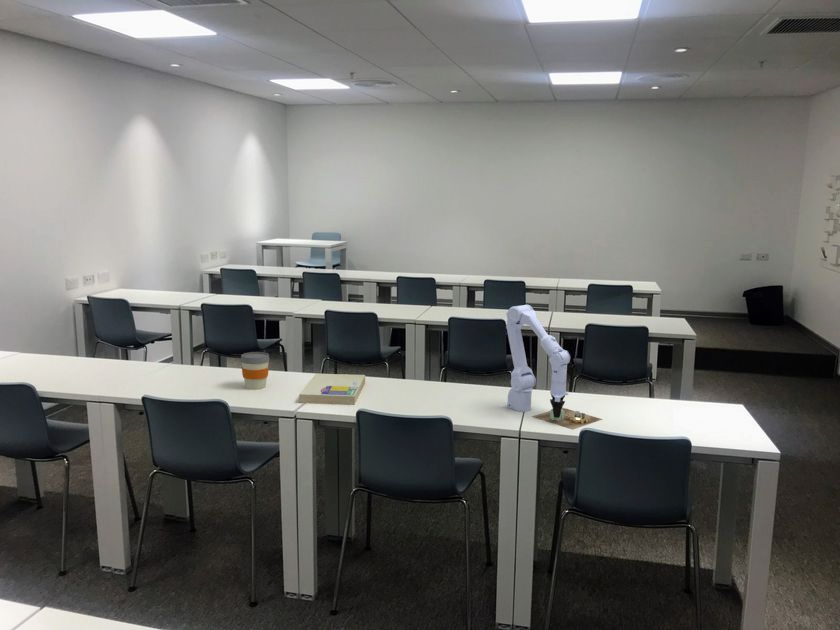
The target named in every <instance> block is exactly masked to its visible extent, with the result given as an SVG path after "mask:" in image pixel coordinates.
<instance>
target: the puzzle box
mask: <svg viewBox="0 0 840 630" xmlns="http://www.w3.org/2000/svg"><path fill="white" fill-rule="evenodd" d="M365 384H366V375H365V374H348V373H347V374H346V373H345V374H341V373H339V374H337V373H335V374H334V373H315V374H314V375H313V377H312V378H311V379H310V380H309V382H308V383H307V384H306V385H305V387H304V388H303V389H302V390H301V391H300V393H299V394H298V395H299V400H298V401H299V404H311V405H313V404H314V405H318V404H319V405H341V406H343V405H347V406H350V405H351V406H355V405H356V403H357V401H358V399H359V397H360V395H361V393H362V391H363V388H364V387H365Z"/></svg>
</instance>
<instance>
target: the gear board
mask: <svg viewBox="0 0 840 630" xmlns="http://www.w3.org/2000/svg"><path fill="white" fill-rule="evenodd" d="M562 410H563V411H565V414H564V419H563V420H560V421H557V420H552V419H550V410H549V411H545V412H542V413H538V414H535V415H532V416H531V417H532V418H533V419H538V420H541V421H544V422H547V423H550V424H553V425H556V426H560V427H562V428H565V429H569V430H576V429H579V428H582V427H585V426H587V425H591V424H593V423H596V422H599V421H603V418H600V417H597V416H593V415H589V414H585V416H589V422H588V423H583V424H580V423H578V424H575V423H570V421H566V415H568V414H572V413H574V414H576V416H579V415H580V414H581V415H582V413H583V412H580V411H579V410H572V409H568V408H565V407H562Z"/></svg>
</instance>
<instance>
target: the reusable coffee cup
mask: <svg viewBox="0 0 840 630" xmlns="http://www.w3.org/2000/svg"><path fill="white" fill-rule="evenodd" d="M240 356H241V357H240V362H241V365H242V366H241V373H242V377H243V379H244V387H245V389H247V390H251V391H252V390H253V391H254V390H255V391H256V390H263V389H265V388H266V386H267V380H268V376H269V369H270V368H269V367H270V366H269V362H270V356H269V353H267V352H263V351H262V352H261V351H250V352H244V353H243V354H241V355H240Z"/></svg>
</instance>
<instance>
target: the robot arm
mask: <svg viewBox="0 0 840 630" xmlns="http://www.w3.org/2000/svg"><path fill="white" fill-rule="evenodd" d="M536 313H537V312H536V310H534V308H533V307H532V306H531V305H529V304H524V305H515V306H511V307H510V308H509V309H508V310H507V312H506V318H507V322H506V330H507V338H508V343H509V348H510V352H511V358H512V364H513V367H514V368H513V370H512V372H511V373H510V376H511V379H510V386H511V388H510V389H509V390H508V393H507V408H509V409H511V410H514V411H516V412H522V413H523V412H524V413H525V412H530V411H531V410H532V391H533V387H535V386H536V383H537V382H536V379H537V378H536V376H535V375H534V373H533V370H532V368H531V367H529V366H528V363H527V357H526V351H525V346H524V345H525V344H524V341H523V334H522V330H521V329H522V327H523V326H524V325H526V326H528V327H530V329H531V330H532V331H533V332H534V333H535V335H536V336H537V337H538V338H539V339H540V343H539V344H540V346H541V347H542V348H543V350H544V352H545V353H546V354H547V356H548V357H549V358H548V359H549V363H550V365H551V380H550V392H549V393H550V395H551V398H550V399H549V401H550V405H551V407H552V408H551V409H553V415H554V417H555V418H559V417H560V414H561V409H562V408H564V405H565V403H566V400H564V399H565V397H566V396H569V392H568V391H567V390H566V388H567V374H568V372H567V371H568V364H569V363H570V361H571V354H570V353H569V351H568V350H565V349H563V347H561V345H560V344H559V343H558V341H557V338H556V337H555V336H553V335H550V334H548V333H547V331H546V330H545V328H544V326H543V325H542V324H541V322H540V320H539V319H538V317H537V314H536Z"/></svg>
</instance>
